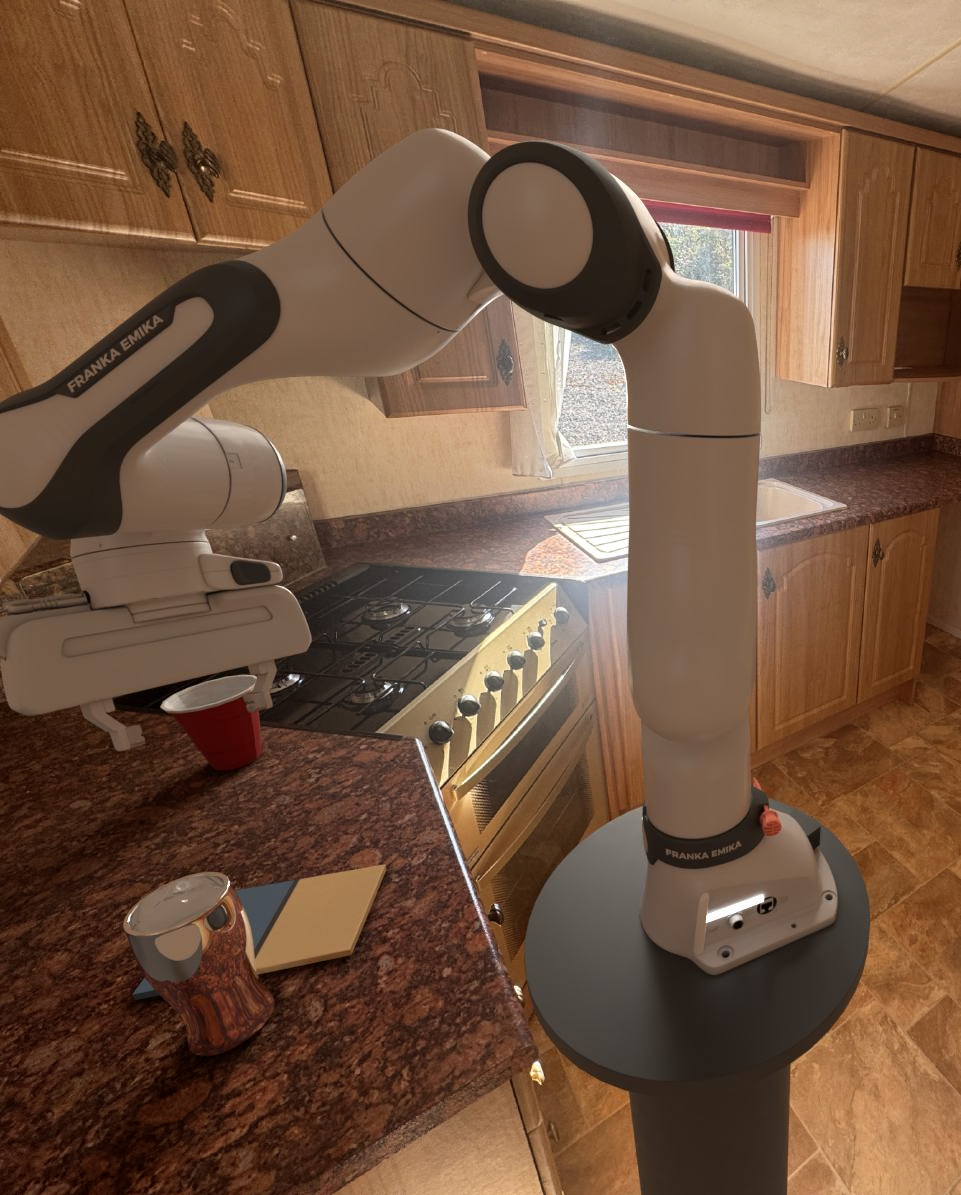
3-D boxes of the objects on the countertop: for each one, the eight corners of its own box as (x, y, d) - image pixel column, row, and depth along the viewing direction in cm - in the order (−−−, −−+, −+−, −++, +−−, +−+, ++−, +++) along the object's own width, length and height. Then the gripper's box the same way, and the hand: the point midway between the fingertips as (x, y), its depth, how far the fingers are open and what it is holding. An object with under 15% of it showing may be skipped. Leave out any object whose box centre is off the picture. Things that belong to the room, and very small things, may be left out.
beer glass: (291, 977, 62) (246, 861, 56) (265, 1045, 56) (211, 922, 50) (203, 1001, 60) (147, 881, 54) (166, 1074, 54) (98, 949, 48)
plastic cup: (252, 732, 101) (229, 666, 96) (298, 746, 97) (276, 679, 93) (170, 771, 91) (140, 700, 87) (218, 789, 88) (189, 715, 83)
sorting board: (386, 868, 75) (385, 863, 75) (351, 955, 64) (349, 949, 64) (205, 901, 70) (202, 895, 70) (134, 1000, 60) (131, 994, 59)
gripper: (-18, 600, 46) (45, 777, 47) (298, 562, 64) (335, 691, 66) (-40, 610, 49) (19, 776, 50) (268, 571, 67) (304, 694, 68)
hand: (200, 727), depth 58 cm, fingers open, 8 cm apart
